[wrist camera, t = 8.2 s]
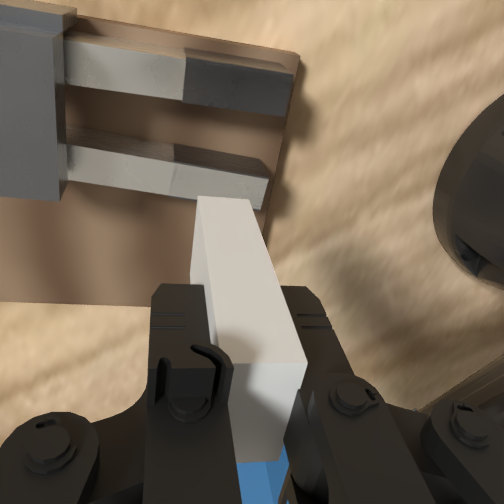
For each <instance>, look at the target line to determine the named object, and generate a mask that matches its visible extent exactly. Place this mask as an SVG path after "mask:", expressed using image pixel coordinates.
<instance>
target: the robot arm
mask: <svg viewBox="0 0 504 504" xmlns="http://www.w3.org/2000/svg"><path fill="white" fill-rule="evenodd" d="M433 220H434V226H435V230H436V234H437V236H438V239H439V241H440V243H441V244H442V246H443V247H444V249H445V250H446V251H447V252H448V254H449V255H450V256H451V257H452V258H453V259H454V260H455V261H456V262H457V263H458V264H459V265H460V266H461V267H463V268H464V269H465V270H466V271H467V272H468V273H470V274H471V275H473V276H474V277H476V278H478V279H479V280H481V281H484V282H486V283H488V284H491V285H493V286H495V287H498V288H500V289H502V290H504V94H503V95H502V96H501V97H499V98H498V99H497V100H495V101H494V102H493V103H492V104H491V105H489V106H488V107H487V108H486V109H485V110H484V111H483V112H482V113H481V114H480V115H479V116H478V117H477V118H476V119H475V120H474V121H473V122H472V123H471V124H470V126H469V127H468V128H467V129H466V130H465V132H464V133H463V134H462V136H461V137H460V138H459V140H458V141H457V143H456V144H455V146H454V147H453V149H452V151H451V152H450V154H449V156H448V158H447V160H446V162H445V164H444V166H443V168H442V170H441V173H440V176H439V179H438V182H437V185H436V189H435V194H434V201H433ZM190 283H191V284H170V283H161V284H160V285H159V287H158V288H157V290H156V291H155V292H154V294H153V295H152V296H151V314H150V334H149V355H148V377H147V385H146V389H145V391H144V393H143V394H142V396H141V398H140V399H139V400H138V401H137V402H136V403H135V404H134V405H133V406H131V407H130V408H128V409H127V410H125V411H124V412H122V413H119V414H117V415H115V416H112V417H109V418H106V419H103V420H100V421H96V422H93V423H90V422H89V421H88V420H87V419H86V418H85V417H82V416H80V415H77V414H74V413H71V412H50V413H47V414H43V415H40V416H36V417H33V418H32V419H30V420H28V421H27V422H25V423H24V424H22V425H20V426H19V427H17V428H16V429H15V430H14V431H13V432H12V434H11V435H10V436H9V437H8V438H7V439H6V440H5V441H4V443H3V444H2V446H1V447H0V504H242V498H241V492H240V485H239V478H238V471H237V464H236V463H249V462H268V461H279V458H280V455H281V452H282V448H283V445H284V446H285V450H286V454H287V458H288V462H289V467H288V470H287V473H286V476H285V480H284V483H283V486H282V489H281V492H280V495H279V498H278V504H286V503H287V500H288V502H289V504H504V354H503V355H502V356H500V357H499V358H497V359H496V360H494V361H493V362H491V363H490V364H488V365H487V366H485V367H484V368H482V369H481V370H479V371H478V372H476V373H475V374H473V375H472V376H470V377H469V378H467V379H466V380H464V381H463V382H461V383H460V384H458V385H457V386H455V387H454V388H452V389H451V390H449V391H448V392H446V393H445V394H443V395H442V396H440V397H439V398H437V399H435V400H434V401H432V402H431V403H429V404H428V405H426V406H425V407H423V408H422V409H420V410H419V411H418V410H416V409H413V410H408V409H404V408H400V407H396V406H393V405H391V404H388V403H385V401H384V399H383V398H382V396H381V395H380V394H379V392H378V391H377V390H376V388H375V387H373V386H372V385H371V384H369V383H368V382H367V381H365V380H364V379H362V378H359V377H357V376H355V375H354V373H353V370H352V368H351V366H350V364H349V362H348V360H347V358H346V355H345V353H344V351H343V349H342V347H341V345H340V343H339V340H338V338H337V336H336V334H335V332H334V330H332V325H331V323H330V321H329V319H328V317H326V312H325V310H324V308H323V306H322V304H321V302H320V299H318V298H317V297H316V296H315V295H314V294H313V293H312V292H311V291H310V290H309V289H308V288H307V287H306V286H280V284H279V282H278V279H277V276H276V273H275V270H274V268H273V265H272V262H271V259H270V257H269V254H268V251H267V248H266V245H265V243H264V240H263V237H262V234H261V232H260V229H259V226H258V223H257V221H256V218H255V215H254V212H253V209H252V207H251V204H250V201H249V199H236V198H223V197H209V196H198V199H197V209H196V218H195V228H194V238H193V248H192V258H191V268H190Z"/></svg>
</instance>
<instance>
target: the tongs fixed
mask: <svg viewBox="0 0 504 504" xmlns="http://www.w3.org/2000/svg"><path fill="white" fill-rule="evenodd" d="M63 55H64V84H68V85H75V86H82V87H89V88H97V89H104V90H111V91H118V92H125V93H132V94H140V95H147V96H154V97H161V98H168V99H176V100H182V103H188V104H196V105H203V106H210V107H217V108H225V109H232V110H239V111H246V112H254V113H261V114H268V115H275V116H283V117H285V113H286V108H287V103H288V99H289V94H290V89H291V84H292V80H293V75H294V74H293V73H292V72H290V71H289V70H288V69H287V68H286V67H284V66H283V65H282V64H281V63H278V62H272V61H266V60H260V59H254V58H248V57H242V56H236V55H230V54H223V53H217V52H211V51H205V50H199V49H193V48H187V47H184V49H180V48H174V47H168V46H162V45H156V44H150V43H144V42H138V41H132V40H126V39H120V38H114V37H108V36H102V35H95V34H89V33H83V32H77V31H71V30H64V31H63Z"/></svg>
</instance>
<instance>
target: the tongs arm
mask: <svg viewBox="0 0 504 504" xmlns="http://www.w3.org/2000/svg"><path fill="white" fill-rule="evenodd" d="M66 142H67V171H68V180H73V181H79V182H86V183H92V184H99V185H105V186H111V187H118V188H124V189H131V190H137V191H144V192H150V193H157V194H163V195H168V197H171V198H177V199H184V200H190V201H197V199H198V196H209V197H223V198H236V199H249V201H250V204H251V207H252V209H253V210H255V211H260V209H261V205H262V202H263V198H264V195H265V191H266V187H267V184H268V180H269V176H268V174H267V172H266V170H265V168H264V166H263V164H262V162H261V160H260V159H258V158H252V157H247V156H241V155H236V154H231V153H225V152H220V151H215V150H209V149H204V148H198V147H193V146H188V145H182V144H177V143H173V144H167V143H162V142H157V141H151V140H146V139H140V138H135V137H130V136H124V135H119V134H113V133H108V132H103V131H97V130H92V129H86V128H81V127H76V126H70V125H66Z"/></svg>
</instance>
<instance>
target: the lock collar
mask: <svg viewBox="0 0 504 504" xmlns="http://www.w3.org/2000/svg"><path fill="white" fill-rule="evenodd" d="M76 23H77V8H73V7H68V6H62V5H56V4H51V3H45V2H39V1H34V0H0V197H9V198H21V199H33V200H45V201H57V202H60V200H61V198H62V196H63V193H64V191H65V189H66V187H67V184H68V171H67V142H66V113H65V84H64V55H63V31H64V30H66V29H68V28H69V27H71V26H72V25H74V24H76Z"/></svg>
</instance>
